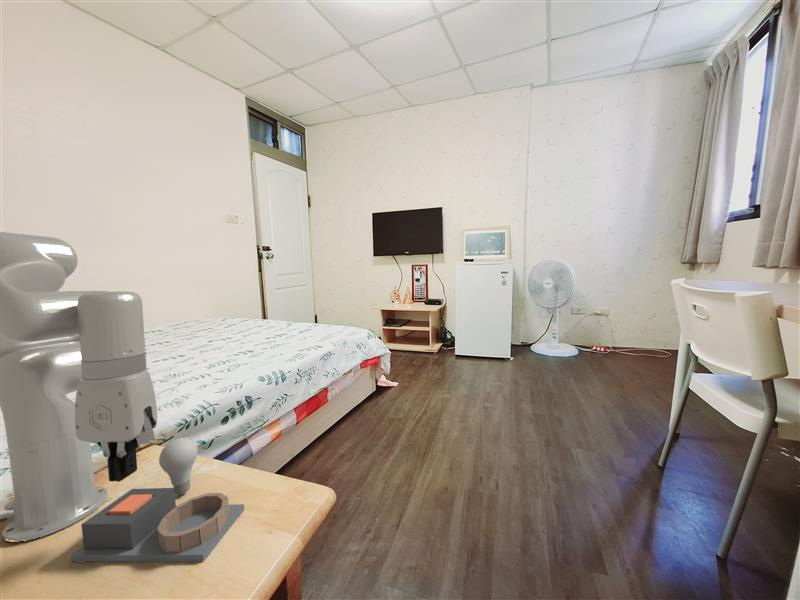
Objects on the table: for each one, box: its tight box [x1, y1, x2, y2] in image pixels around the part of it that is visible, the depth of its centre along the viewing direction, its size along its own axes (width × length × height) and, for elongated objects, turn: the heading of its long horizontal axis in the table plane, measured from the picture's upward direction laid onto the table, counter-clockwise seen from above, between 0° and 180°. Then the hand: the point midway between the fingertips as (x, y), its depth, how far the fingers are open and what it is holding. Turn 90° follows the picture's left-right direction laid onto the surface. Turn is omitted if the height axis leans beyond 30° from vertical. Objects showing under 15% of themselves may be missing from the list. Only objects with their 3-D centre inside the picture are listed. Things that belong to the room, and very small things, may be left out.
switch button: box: [108, 494, 152, 515], centre depth 49 cm, size 4×4×4 cm
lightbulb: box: [158, 437, 199, 496], centre depth 58 cm, size 6×6×11 cm
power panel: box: [70, 487, 245, 563], centre depth 48 cm, size 21×10×5 cm, turn 87°
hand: (123, 475), depth 49 cm, fingers closed
